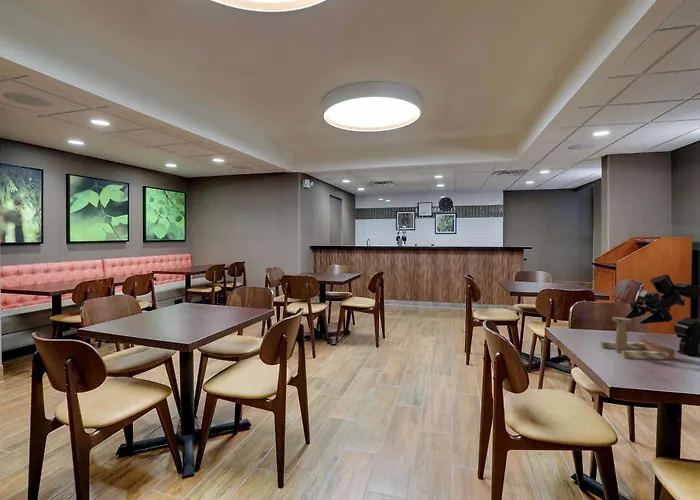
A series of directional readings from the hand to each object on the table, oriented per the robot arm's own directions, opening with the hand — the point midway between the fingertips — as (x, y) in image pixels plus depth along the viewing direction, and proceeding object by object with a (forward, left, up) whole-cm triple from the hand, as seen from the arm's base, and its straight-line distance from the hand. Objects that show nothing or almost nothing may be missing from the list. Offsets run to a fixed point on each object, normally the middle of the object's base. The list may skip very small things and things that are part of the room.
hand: (632, 320), depth 159 cm
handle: (+5, 0, -14) cm, 15 cm away
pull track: (-1, 0, -14) cm, 14 cm away
